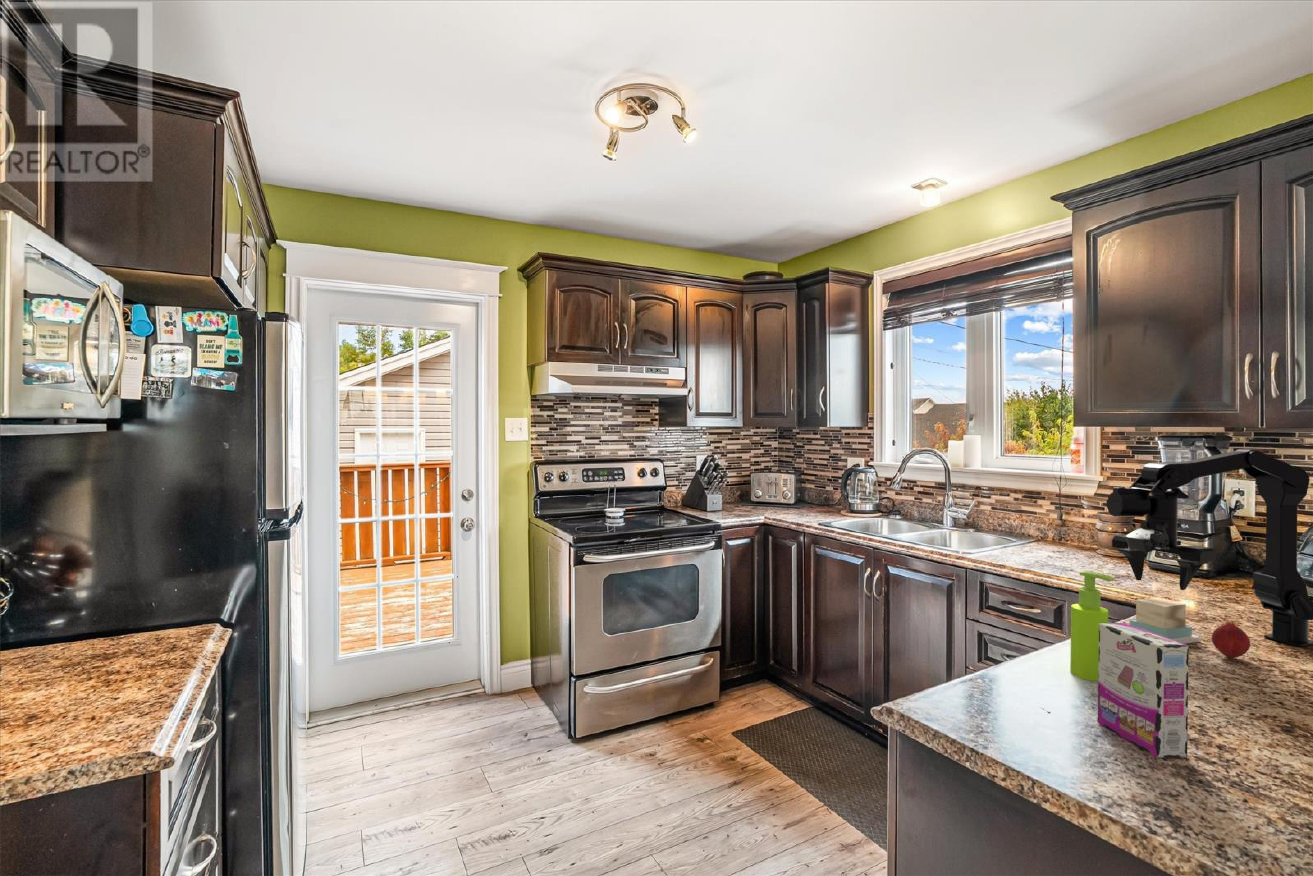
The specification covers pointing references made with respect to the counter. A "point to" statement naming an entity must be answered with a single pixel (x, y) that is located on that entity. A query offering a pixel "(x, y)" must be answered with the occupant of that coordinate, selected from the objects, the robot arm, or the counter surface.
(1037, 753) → the counter surface
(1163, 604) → the maple block
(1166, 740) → the candy bar box
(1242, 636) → the onion
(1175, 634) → the tower base
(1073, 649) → the soap dispenser
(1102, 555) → the counter surface
